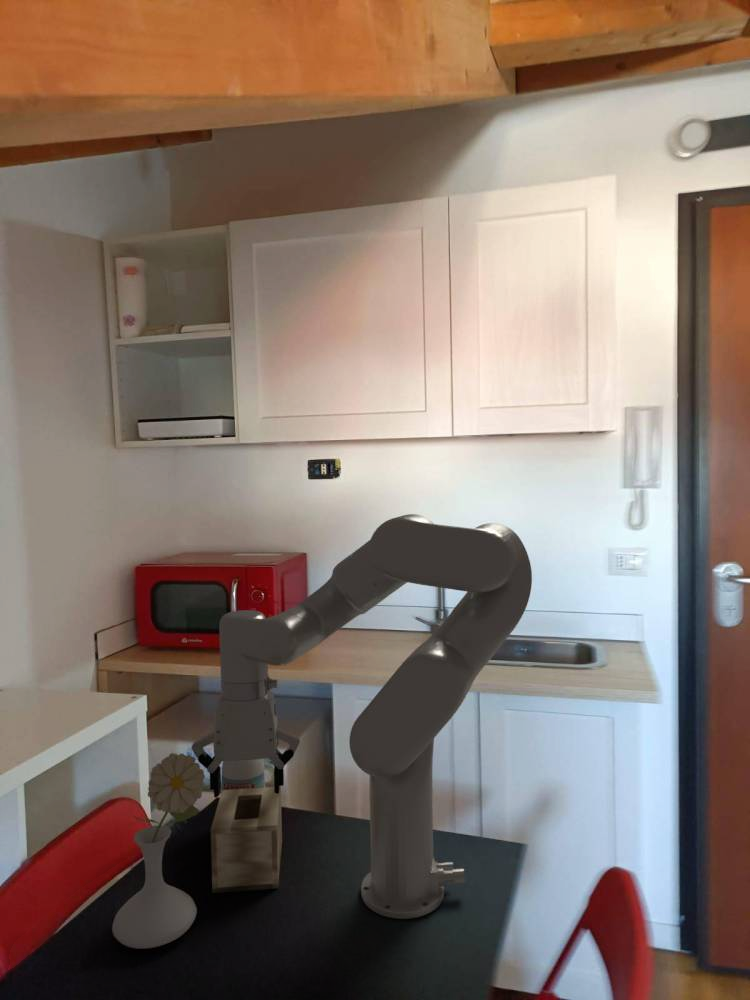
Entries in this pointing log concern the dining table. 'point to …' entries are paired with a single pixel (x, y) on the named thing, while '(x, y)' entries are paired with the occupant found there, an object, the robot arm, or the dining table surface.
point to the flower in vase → (158, 905)
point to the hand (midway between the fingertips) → (247, 791)
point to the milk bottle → (243, 774)
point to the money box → (246, 840)
